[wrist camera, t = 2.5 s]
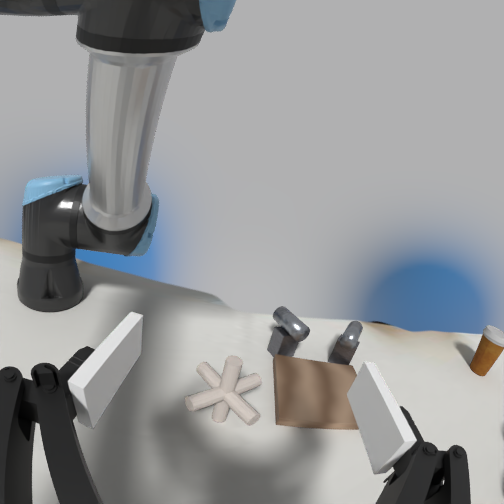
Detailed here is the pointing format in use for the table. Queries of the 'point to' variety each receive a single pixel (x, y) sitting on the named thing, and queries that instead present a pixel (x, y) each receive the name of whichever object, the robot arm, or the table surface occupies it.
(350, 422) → the mounting pad
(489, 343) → the disposable coffee cup
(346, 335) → the dark grey piece
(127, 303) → the table surface
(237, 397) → the pipe connector
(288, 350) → the grey capsule on block
